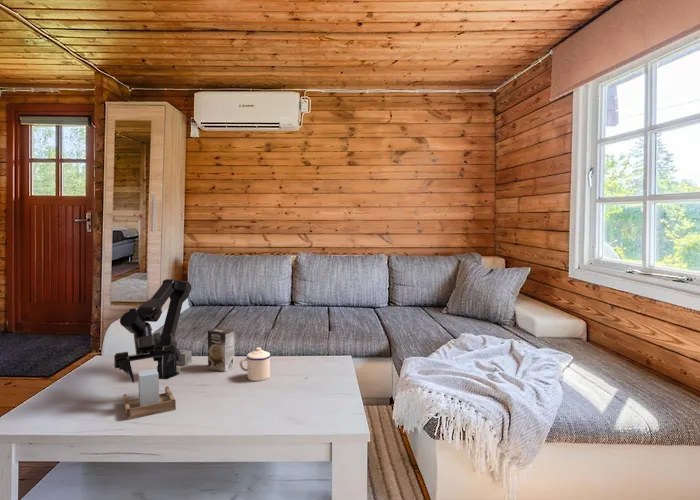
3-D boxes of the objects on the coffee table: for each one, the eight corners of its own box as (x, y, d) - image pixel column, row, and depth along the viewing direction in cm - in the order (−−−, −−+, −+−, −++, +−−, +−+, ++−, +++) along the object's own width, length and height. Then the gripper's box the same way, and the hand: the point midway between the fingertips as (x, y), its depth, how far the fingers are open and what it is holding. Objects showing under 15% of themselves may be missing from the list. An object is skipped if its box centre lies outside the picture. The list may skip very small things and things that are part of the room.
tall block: (138, 403, 142) (138, 372, 141) (157, 399, 145) (156, 369, 144) (140, 408, 138) (139, 376, 137) (159, 405, 141) (158, 373, 140)
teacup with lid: (272, 373, 173) (272, 344, 172) (267, 381, 164) (267, 351, 163) (243, 372, 173) (242, 344, 172) (236, 381, 164) (236, 351, 163)
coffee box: (207, 369, 177) (206, 330, 176) (217, 364, 183) (217, 326, 182) (225, 372, 174) (224, 332, 173) (235, 367, 180) (234, 329, 179)
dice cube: (181, 361, 187) (181, 349, 187) (191, 362, 186) (191, 350, 186) (174, 364, 182) (174, 353, 182) (185, 365, 181) (184, 354, 181)
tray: (123, 403, 144) (123, 394, 143) (168, 394, 151) (168, 386, 151) (127, 419, 132) (126, 410, 132) (175, 409, 139) (175, 400, 139)
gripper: (113, 329, 140) (117, 372, 131) (174, 322, 150) (181, 362, 141) (112, 346, 147) (116, 389, 139) (170, 338, 157) (177, 378, 149)
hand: (148, 379), depth 142 cm, fingers open, 9 cm apart
